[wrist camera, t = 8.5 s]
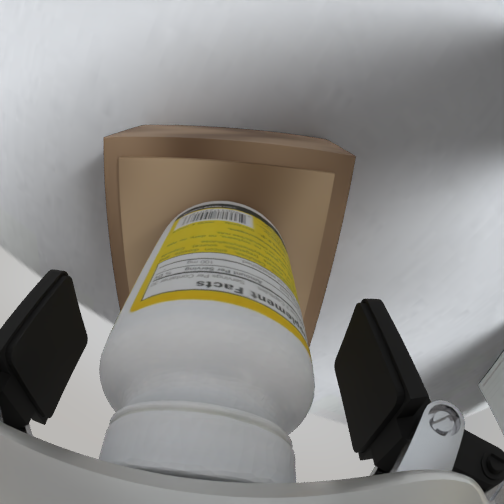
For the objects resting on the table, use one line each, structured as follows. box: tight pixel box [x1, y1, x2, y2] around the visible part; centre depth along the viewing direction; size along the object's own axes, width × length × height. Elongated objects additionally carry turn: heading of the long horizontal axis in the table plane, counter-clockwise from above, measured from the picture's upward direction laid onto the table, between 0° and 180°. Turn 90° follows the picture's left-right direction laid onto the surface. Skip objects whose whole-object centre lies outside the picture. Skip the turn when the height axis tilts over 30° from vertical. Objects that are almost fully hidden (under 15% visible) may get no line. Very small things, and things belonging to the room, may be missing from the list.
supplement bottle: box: [99, 201, 315, 483], centre depth 9 cm, size 5×5×10 cm
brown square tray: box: [104, 125, 356, 346], centre depth 15 cm, size 10×10×5 cm
